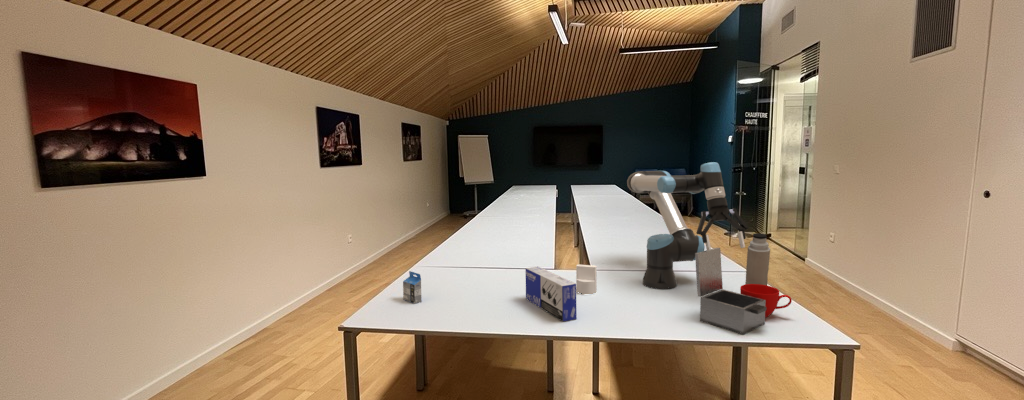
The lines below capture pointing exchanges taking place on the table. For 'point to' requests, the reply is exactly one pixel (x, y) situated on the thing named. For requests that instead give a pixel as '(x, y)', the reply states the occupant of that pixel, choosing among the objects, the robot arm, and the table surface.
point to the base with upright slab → (586, 279)
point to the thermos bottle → (758, 260)
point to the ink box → (551, 293)
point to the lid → (708, 271)
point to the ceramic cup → (765, 296)
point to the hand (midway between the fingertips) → (725, 249)
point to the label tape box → (412, 288)
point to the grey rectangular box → (732, 311)
